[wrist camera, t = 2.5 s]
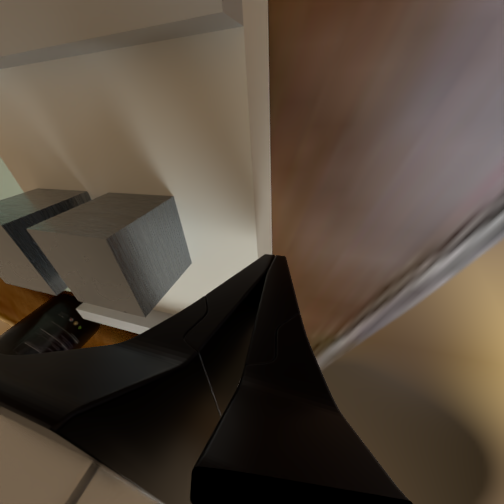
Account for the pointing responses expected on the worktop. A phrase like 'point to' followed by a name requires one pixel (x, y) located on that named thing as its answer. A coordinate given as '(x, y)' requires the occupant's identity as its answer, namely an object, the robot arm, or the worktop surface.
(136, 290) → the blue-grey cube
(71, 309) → the supplement bottle
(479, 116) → the worktop surface
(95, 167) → the channel
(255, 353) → the robot arm
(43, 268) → the gray cube
